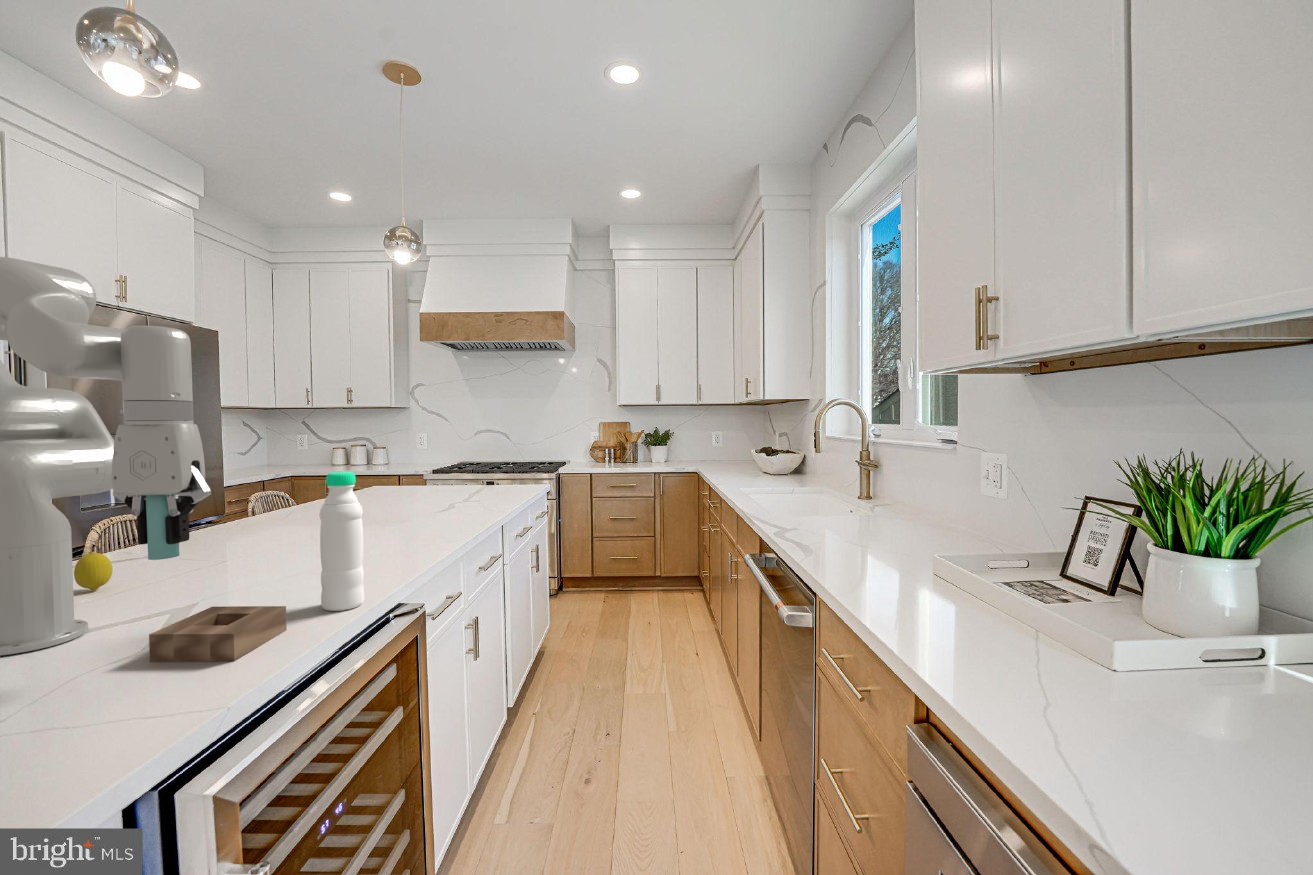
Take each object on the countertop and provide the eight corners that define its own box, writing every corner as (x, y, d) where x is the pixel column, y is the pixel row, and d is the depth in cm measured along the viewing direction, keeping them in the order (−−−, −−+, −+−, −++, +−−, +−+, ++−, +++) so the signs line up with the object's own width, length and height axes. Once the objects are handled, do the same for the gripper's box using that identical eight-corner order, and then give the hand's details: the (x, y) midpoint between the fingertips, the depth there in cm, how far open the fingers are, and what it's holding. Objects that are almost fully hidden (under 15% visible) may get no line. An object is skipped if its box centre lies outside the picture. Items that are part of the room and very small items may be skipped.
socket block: (149, 661, 82) (149, 634, 82) (212, 630, 94) (212, 606, 94) (234, 661, 82) (233, 633, 82) (286, 629, 94) (286, 606, 94)
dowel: (141, 559, 80) (138, 482, 79) (163, 554, 83) (160, 479, 83) (164, 559, 80) (162, 481, 79) (185, 554, 83) (183, 479, 83)
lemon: (117, 589, 116) (115, 550, 115) (79, 596, 111) (77, 556, 111) (108, 585, 119) (106, 547, 118) (70, 592, 114) (69, 552, 114)
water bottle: (345, 613, 102) (343, 475, 101) (311, 610, 103) (309, 474, 102) (372, 601, 109) (370, 471, 108) (340, 598, 110) (338, 470, 109)
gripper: (75, 414, 77) (81, 548, 78) (193, 413, 77) (198, 548, 78) (128, 415, 85) (133, 537, 85) (236, 414, 84) (240, 536, 85)
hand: (164, 541), depth 81 cm, fingers closed on dowel, 3 cm apart
